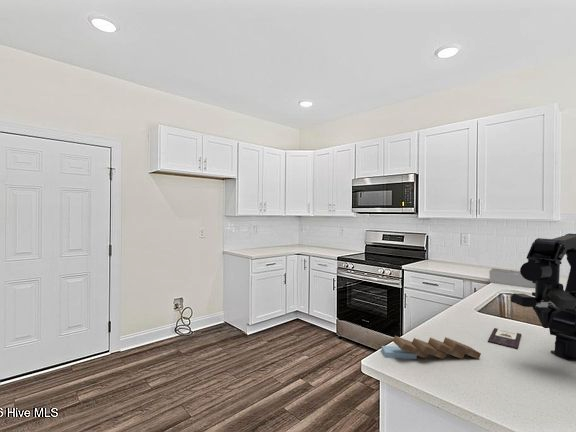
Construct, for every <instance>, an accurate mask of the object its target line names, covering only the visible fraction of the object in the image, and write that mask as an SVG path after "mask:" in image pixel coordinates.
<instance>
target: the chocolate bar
mask: <svg viewBox="0 0 576 432" xmlns="http://www.w3.org/2000/svg"><path fill="white" fill-rule="evenodd" d="M521 337H522V333H519V332H514V331H509V330H507V329H506V330H505V329H500V328H497V327H494V328H493V330H492V331H491V334H490V335H489V337H488V339H487V343H490V344H494V345H497V346H501V347H506V348H509V349H514V350H518V349H519V346H520V342H521Z"/></svg>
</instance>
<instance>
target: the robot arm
mask: <svg viewBox="0 0 576 432" xmlns="http://www.w3.org/2000/svg"><path fill="white" fill-rule="evenodd" d="M565 255H566V261H567V263H568V265H569V266H570V268H569V273H568V277H567V281H566V285H565V289H564V284H563V283H561V282H560V274H561V273H560V270H561V269H560V268H561V265H562V260H563V259H564V256H565ZM526 259H527V262H524V263H523V264H522V265H521V266H520V270H519V271H520V273H521V275H522V276H523V277H524V278H525V279H526V280H529V281H532V283H536V284H535V288H534V291H533V292H531V295H529V294H526V293H517V292H516V293H512V294H511V296H510V302H511V303H514V304H516V305H519V306H521V307H524V308H532V309H533V311H534V312H535V314H536V316H537V318H538V320H539V322H540V324H541V326H542V328H543V329H548V330H549V335H551V336H555V341H554V349H553V350H550V353H551V354H554V355H556V356H558V357H560V358H563V359H564V360H567V361H571V362H572V361H576V233H566V234H565V235H561V236H558V237H555V238H543V237H537V238H536V239H534V241H532V243H531V246H530V248H529V251H528V253H527V255H526Z"/></svg>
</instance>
